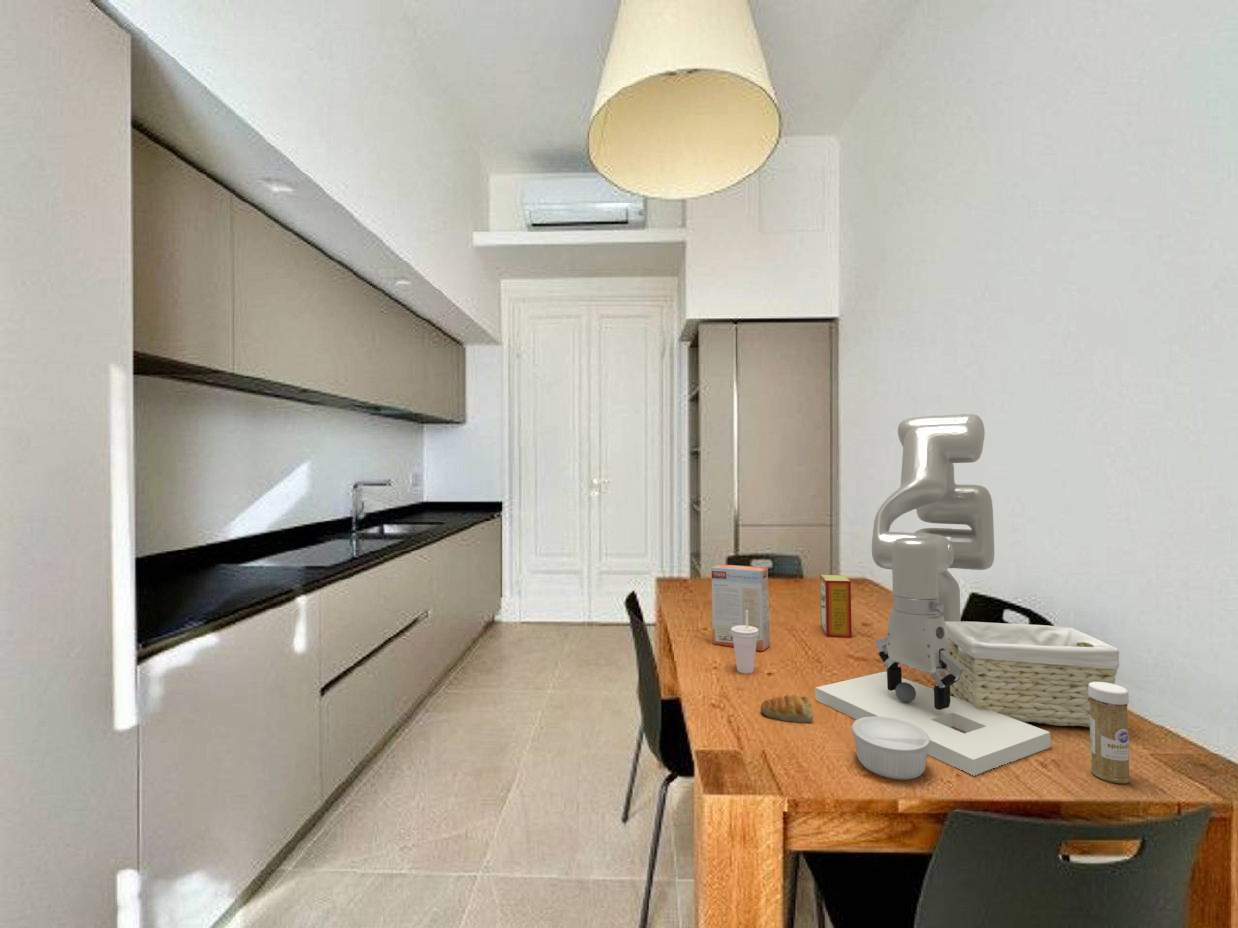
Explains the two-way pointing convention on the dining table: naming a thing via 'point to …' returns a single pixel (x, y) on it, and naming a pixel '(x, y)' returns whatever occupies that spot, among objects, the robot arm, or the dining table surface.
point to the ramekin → (891, 747)
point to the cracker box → (740, 602)
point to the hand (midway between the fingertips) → (917, 698)
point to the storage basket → (1030, 670)
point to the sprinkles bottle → (1109, 731)
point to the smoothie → (745, 646)
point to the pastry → (788, 708)
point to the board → (940, 723)
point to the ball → (905, 692)
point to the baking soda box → (835, 606)
